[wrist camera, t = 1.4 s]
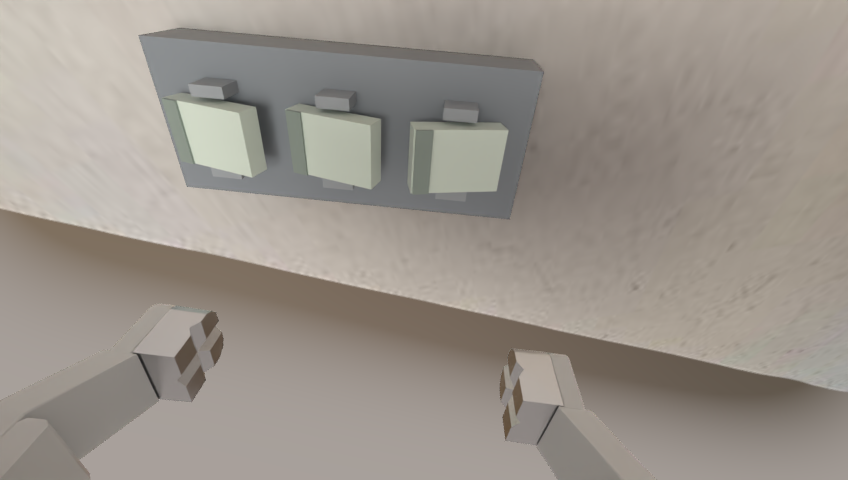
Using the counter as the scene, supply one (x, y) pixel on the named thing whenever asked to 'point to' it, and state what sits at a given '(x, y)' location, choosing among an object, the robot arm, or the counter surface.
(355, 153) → the switch
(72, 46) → the counter surface
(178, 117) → the switch
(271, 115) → the switch unit
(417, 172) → the switch
